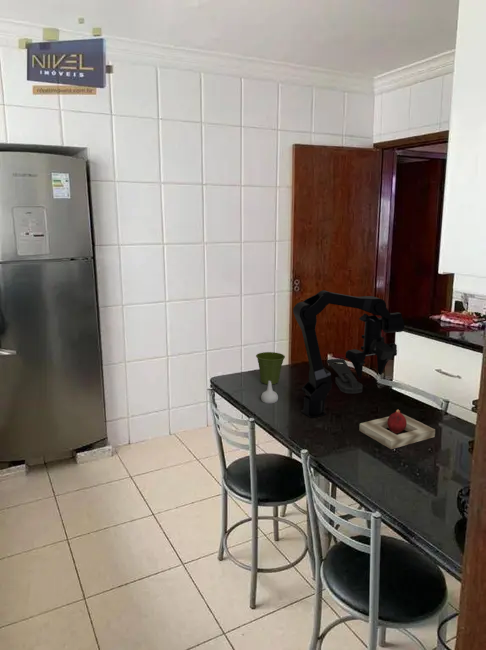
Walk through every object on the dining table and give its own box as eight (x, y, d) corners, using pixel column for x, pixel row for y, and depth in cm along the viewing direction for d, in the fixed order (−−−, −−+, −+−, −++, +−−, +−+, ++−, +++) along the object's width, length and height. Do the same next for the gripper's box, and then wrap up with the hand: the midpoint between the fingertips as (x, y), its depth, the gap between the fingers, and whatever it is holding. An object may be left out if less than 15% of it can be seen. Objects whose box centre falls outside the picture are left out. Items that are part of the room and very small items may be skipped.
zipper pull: (344, 358, 210) (366, 376, 186) (344, 372, 211) (365, 393, 187) (325, 359, 209) (344, 377, 184) (324, 373, 210) (343, 394, 186)
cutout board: (391, 449, 142) (391, 441, 141) (359, 430, 154) (359, 423, 153) (434, 437, 150) (435, 429, 149) (401, 420, 162) (401, 413, 161)
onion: (405, 439, 148) (407, 414, 146) (386, 436, 150) (387, 412, 148) (405, 431, 153) (407, 407, 152) (387, 428, 155) (388, 405, 154)
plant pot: (278, 388, 191) (278, 361, 189) (250, 384, 196) (251, 357, 194) (288, 379, 201) (289, 354, 199) (262, 375, 206) (262, 350, 204)
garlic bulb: (280, 403, 177) (282, 383, 176) (265, 405, 174) (267, 384, 173) (272, 398, 182) (274, 378, 181) (257, 399, 180) (259, 378, 178)
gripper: (367, 341, 154) (365, 387, 158) (410, 335, 163) (406, 379, 166) (345, 334, 164) (343, 377, 168) (386, 328, 172) (383, 370, 176)
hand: (370, 376), depth 169 cm, fingers open, 9 cm apart
